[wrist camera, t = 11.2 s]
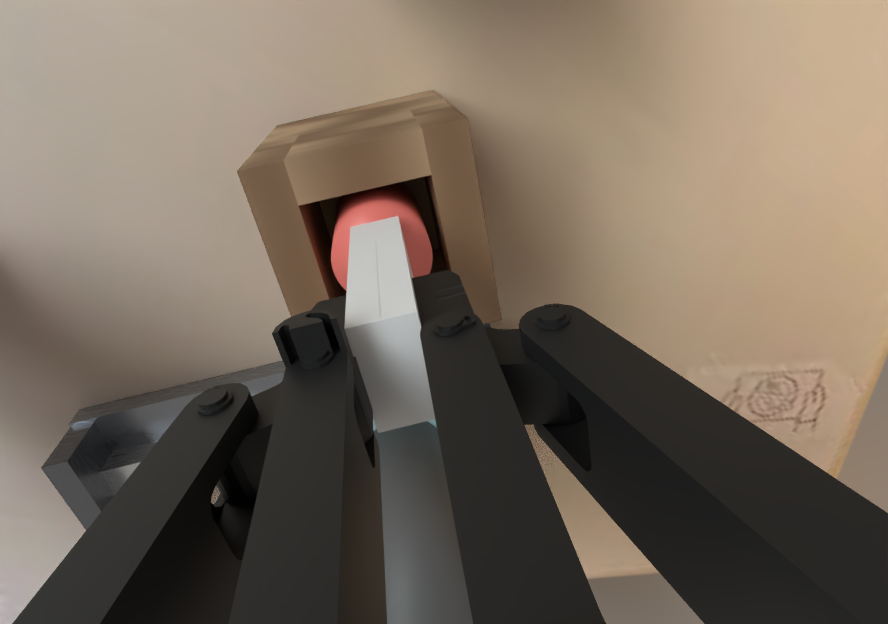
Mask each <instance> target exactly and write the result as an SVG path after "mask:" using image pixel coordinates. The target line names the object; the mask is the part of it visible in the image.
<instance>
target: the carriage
mask: <svg viewBox="0 0 888 624" xmlns="http://www.w3.org/2000/svg"><path fill="white" fill-rule="evenodd" d="M373 430H374V433H375V436H376V439H377V442H378V445H379V453H380V475H381V497H382V518H383V540H384V562H385V584H386V606H387V624H473V620H472V614H471V609H470V604H469V598H468V593H467V587H466V582H465V577H464V571H463V566H462V560H461V555H460V550H459V544H458V539H457V533H456V528H455V523H454V517H453V512H452V506H451V501H450V496H449V490H448V485H447V479H446V474H445V469H444V463H443V458H442V452H441V447H440V442H439V436H438V431H437V425H436V420H435V419H434V420H430V421H425V422H421V423H417V424H413V425H409V426H405V427H401V428H397V429H393V430H389V431H384V432H380V433H378V431H377V428H376V425H375V422H374V419H373Z"/></svg>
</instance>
